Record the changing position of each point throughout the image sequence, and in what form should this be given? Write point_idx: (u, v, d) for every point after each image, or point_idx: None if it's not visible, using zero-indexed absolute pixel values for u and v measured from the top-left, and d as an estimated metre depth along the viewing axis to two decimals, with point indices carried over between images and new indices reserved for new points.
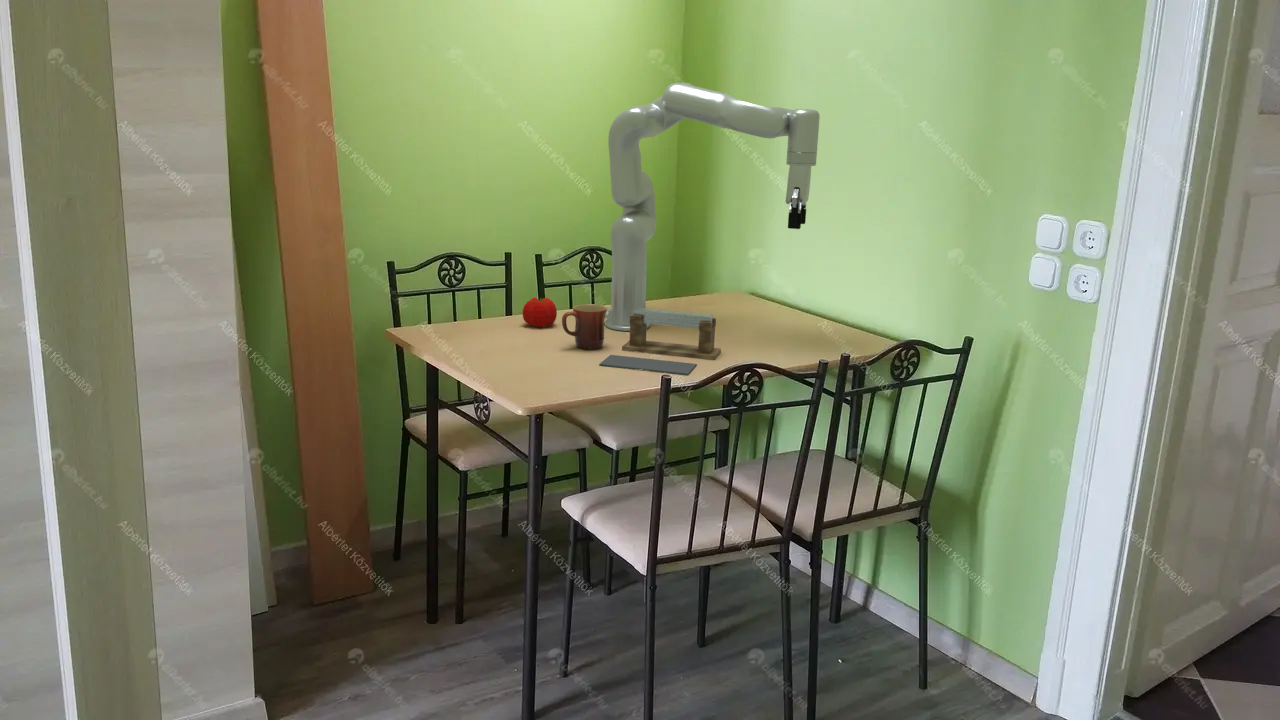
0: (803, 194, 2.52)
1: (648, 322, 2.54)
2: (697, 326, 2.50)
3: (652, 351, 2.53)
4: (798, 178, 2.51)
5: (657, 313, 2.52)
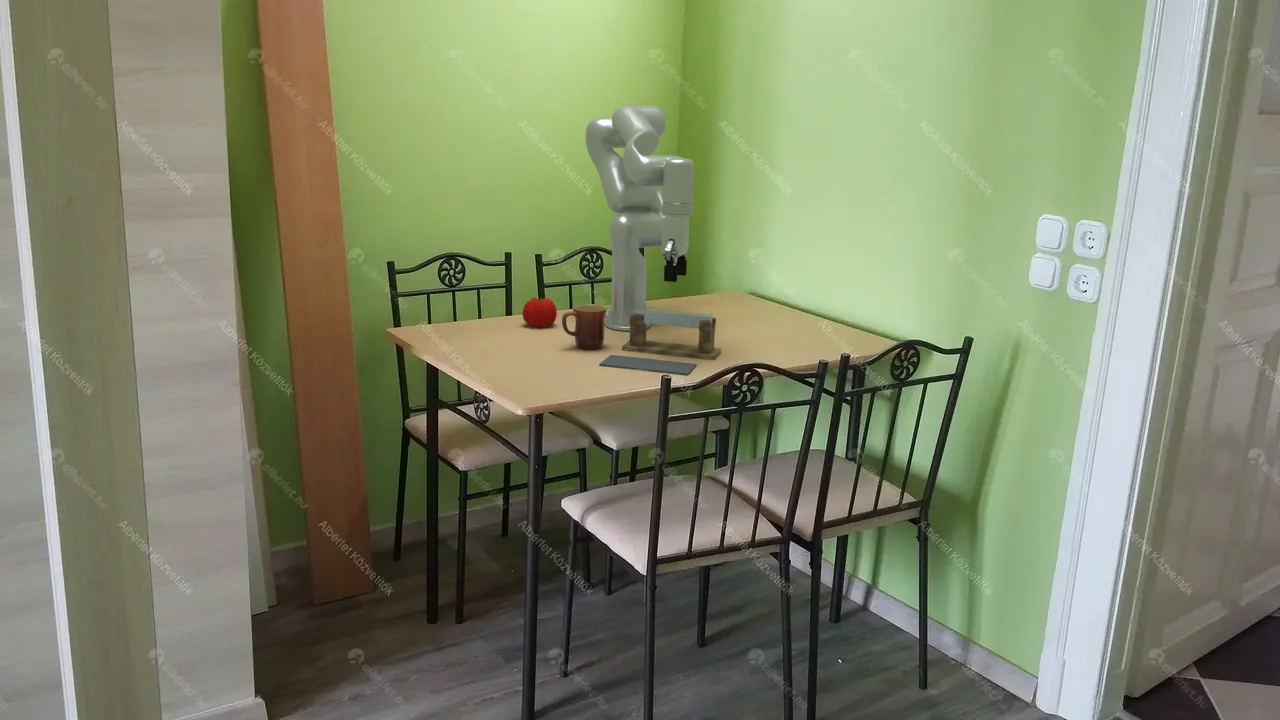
0: (678, 246, 2.43)
1: (648, 322, 2.54)
2: (697, 326, 2.50)
3: (652, 351, 2.53)
4: (672, 230, 2.42)
5: (657, 313, 2.52)
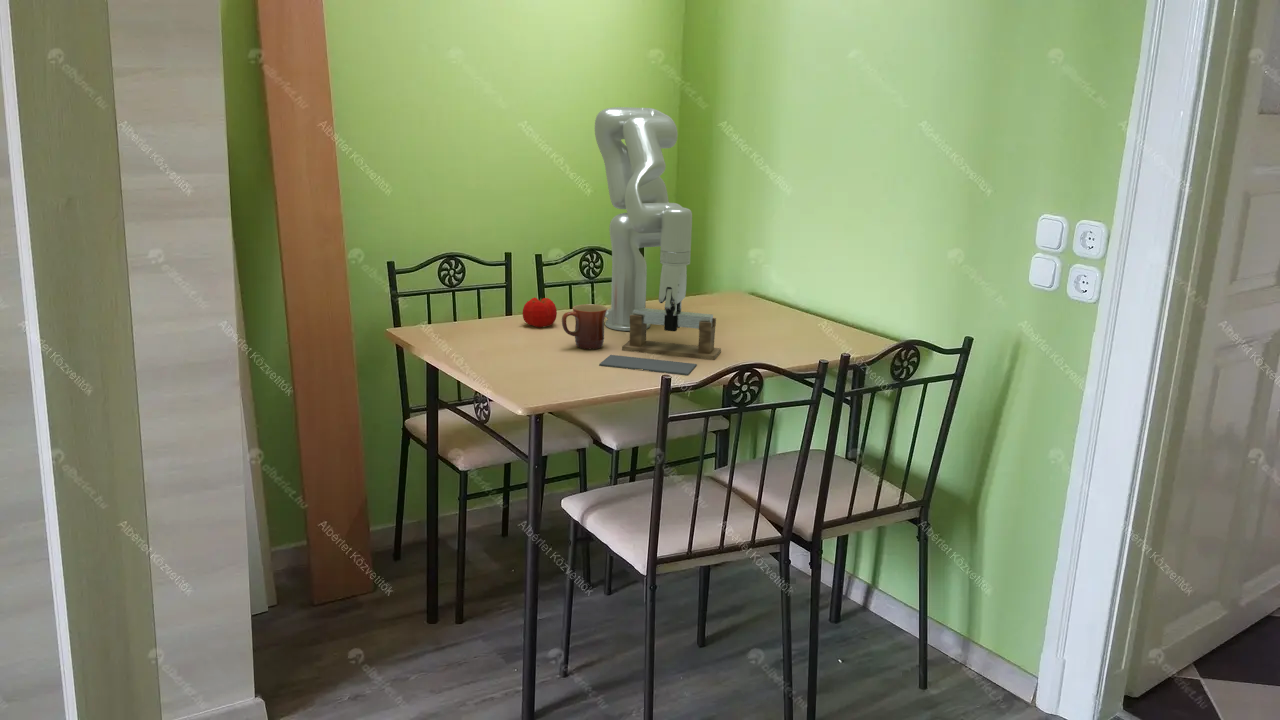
0: (675, 294, 2.46)
1: (648, 322, 2.54)
2: (697, 326, 2.50)
3: (652, 351, 2.53)
4: (670, 278, 2.46)
5: (657, 313, 2.52)
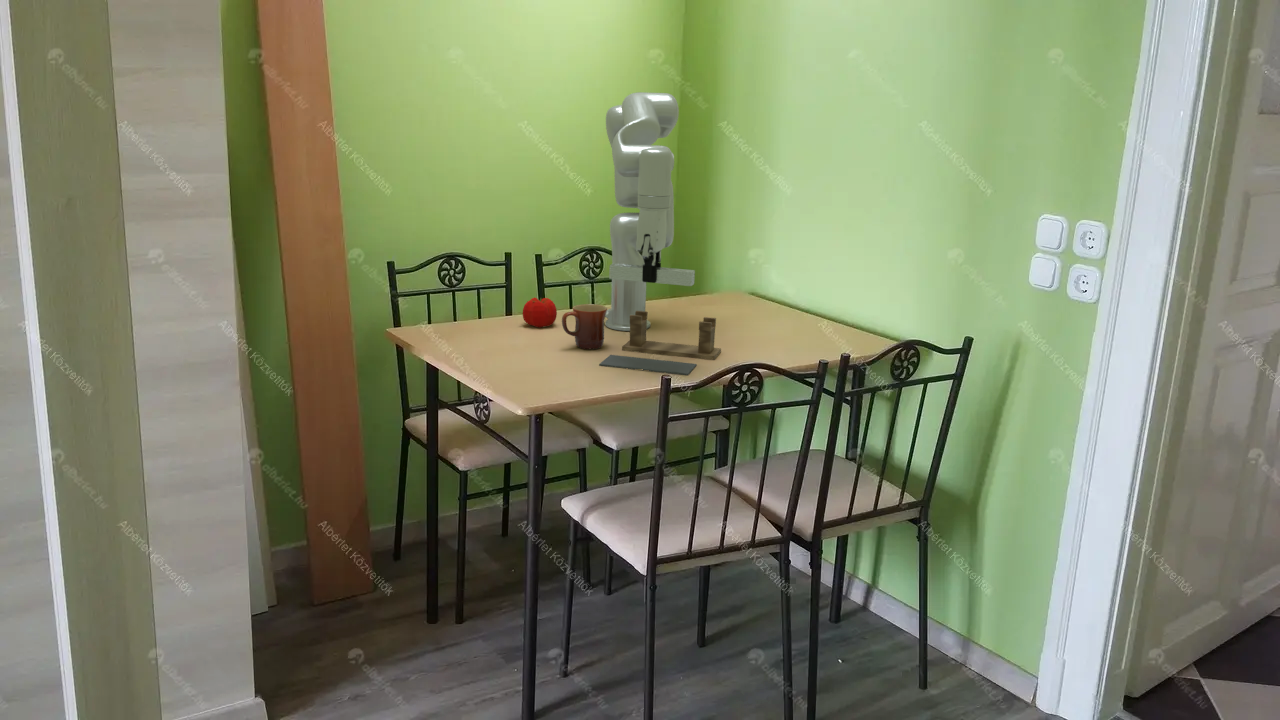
0: (654, 242, 2.29)
1: (625, 278, 2.37)
2: (677, 282, 2.33)
3: (652, 351, 2.53)
4: (648, 224, 2.28)
5: (635, 268, 2.35)
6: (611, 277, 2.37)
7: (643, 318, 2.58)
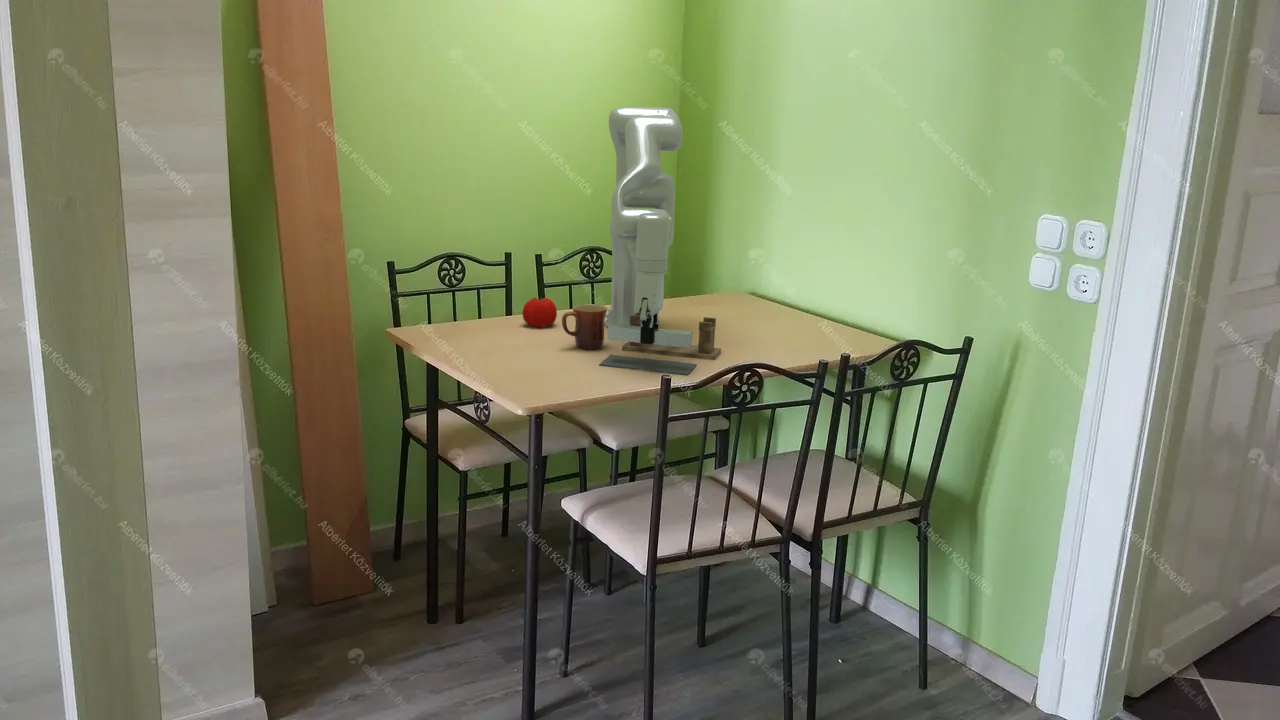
0: (652, 305, 2.33)
1: (623, 339, 2.40)
2: (675, 344, 2.37)
3: (652, 351, 2.53)
4: (646, 288, 2.32)
5: (633, 330, 2.39)
6: (609, 338, 2.41)
7: None
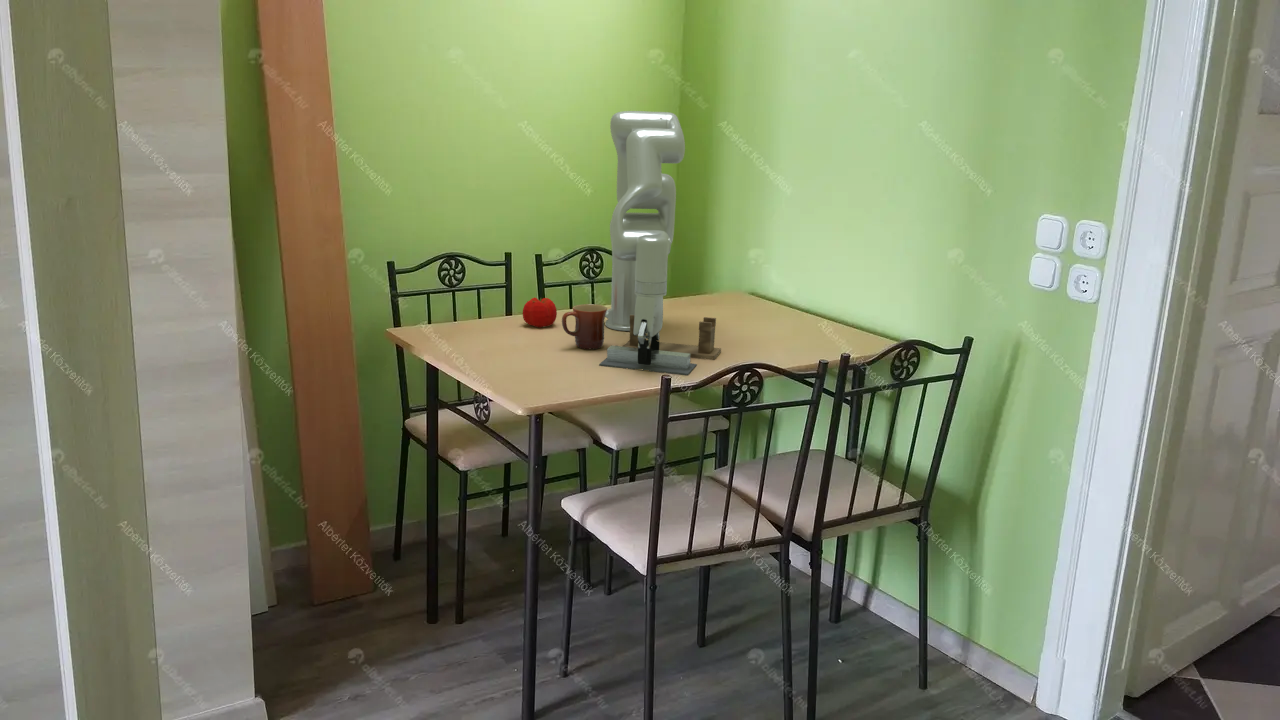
0: (651, 327, 2.34)
1: (623, 361, 2.42)
2: (674, 366, 2.39)
3: None
4: (645, 310, 2.34)
5: (632, 352, 2.41)
6: (609, 360, 2.43)
7: None
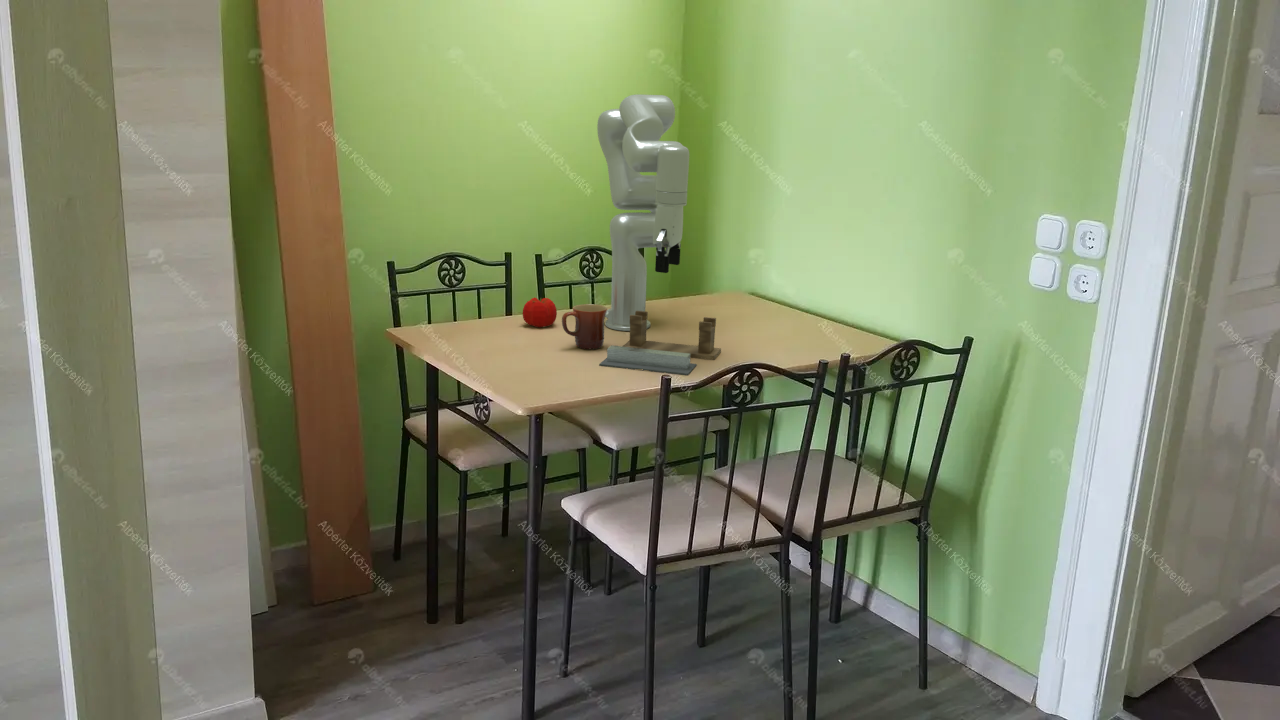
0: (670, 236, 2.36)
1: (623, 361, 2.42)
2: (674, 366, 2.39)
3: None
4: (665, 219, 2.35)
5: (632, 352, 2.41)
6: (609, 360, 2.43)
7: (643, 318, 2.58)
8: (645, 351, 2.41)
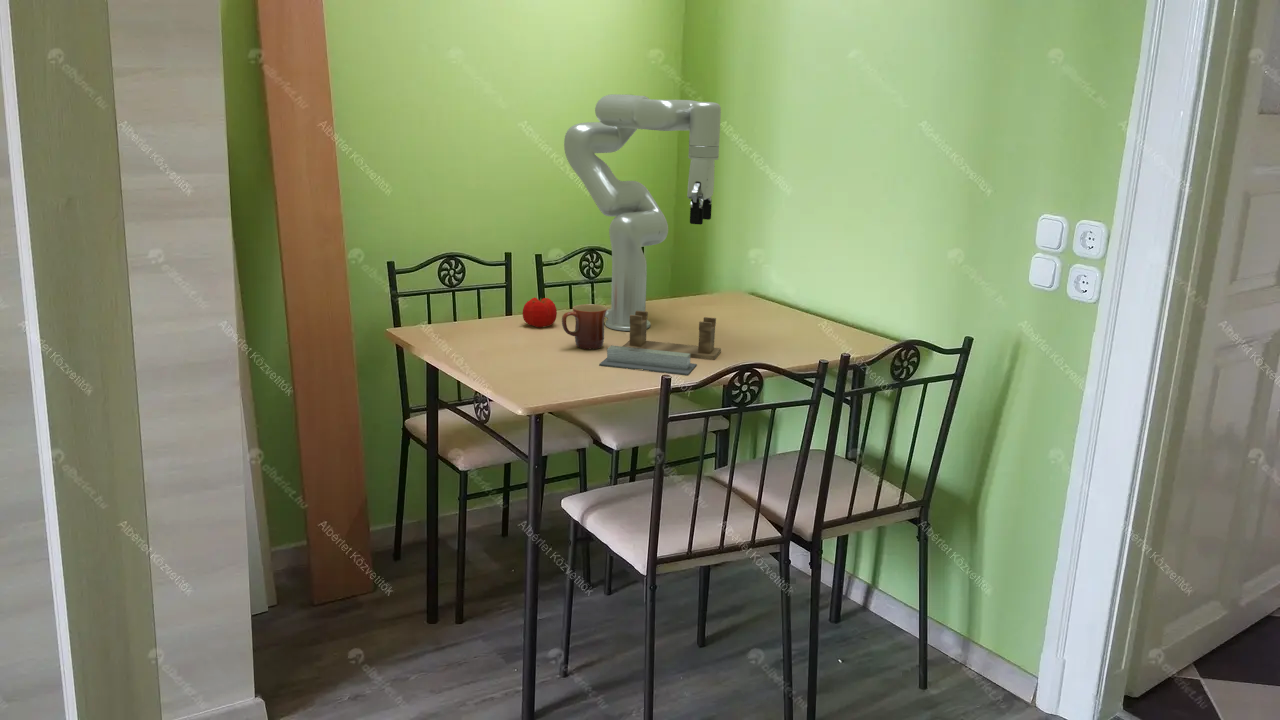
0: (704, 189, 2.47)
1: (623, 361, 2.42)
2: (674, 366, 2.39)
3: None
4: (699, 172, 2.46)
5: (632, 352, 2.41)
6: (609, 360, 2.43)
7: (643, 318, 2.58)
8: (645, 351, 2.41)
